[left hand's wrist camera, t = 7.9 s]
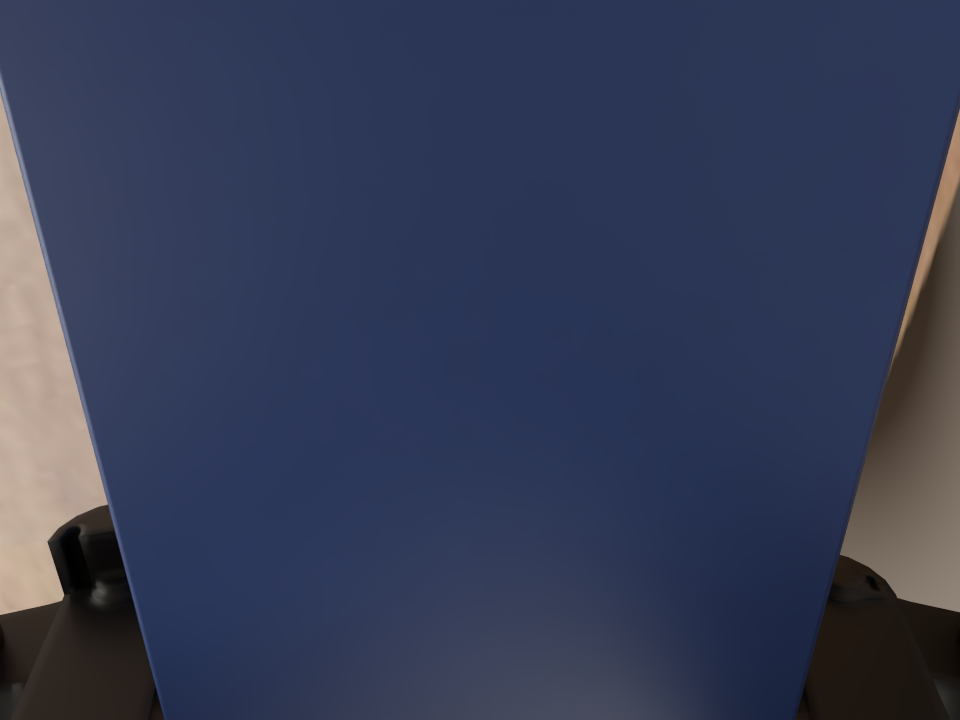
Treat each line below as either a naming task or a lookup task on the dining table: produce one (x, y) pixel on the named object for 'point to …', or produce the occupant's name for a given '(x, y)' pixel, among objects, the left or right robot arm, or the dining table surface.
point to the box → (480, 333)
